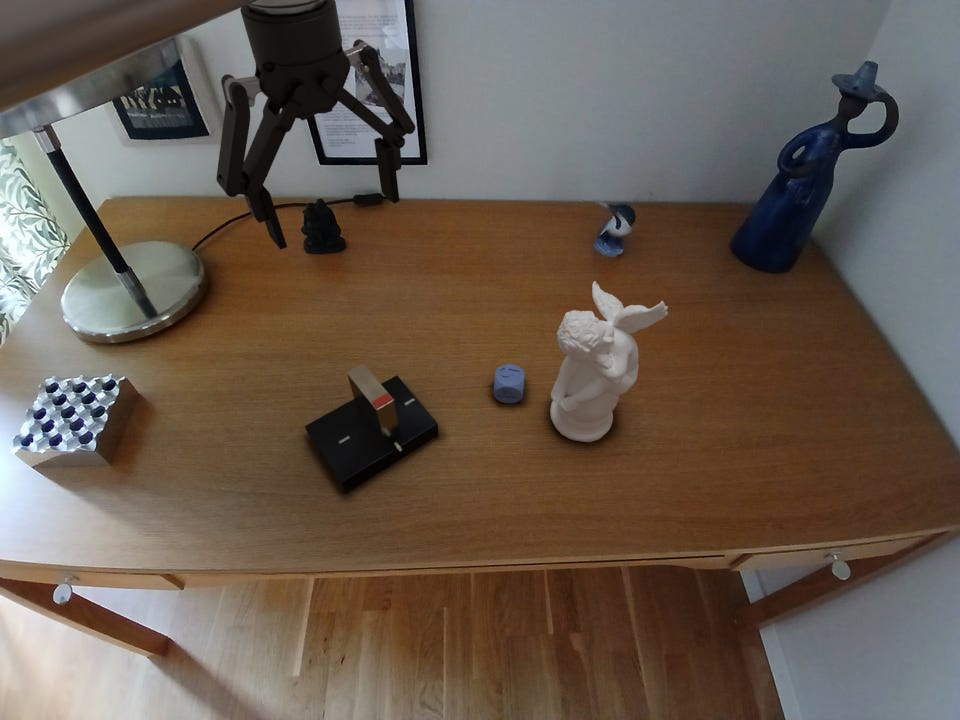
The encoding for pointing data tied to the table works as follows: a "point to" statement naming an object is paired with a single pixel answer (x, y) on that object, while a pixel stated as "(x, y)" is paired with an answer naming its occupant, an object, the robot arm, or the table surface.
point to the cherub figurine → (597, 364)
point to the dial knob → (374, 403)
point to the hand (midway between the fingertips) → (337, 218)
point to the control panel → (370, 437)
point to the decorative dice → (509, 383)
